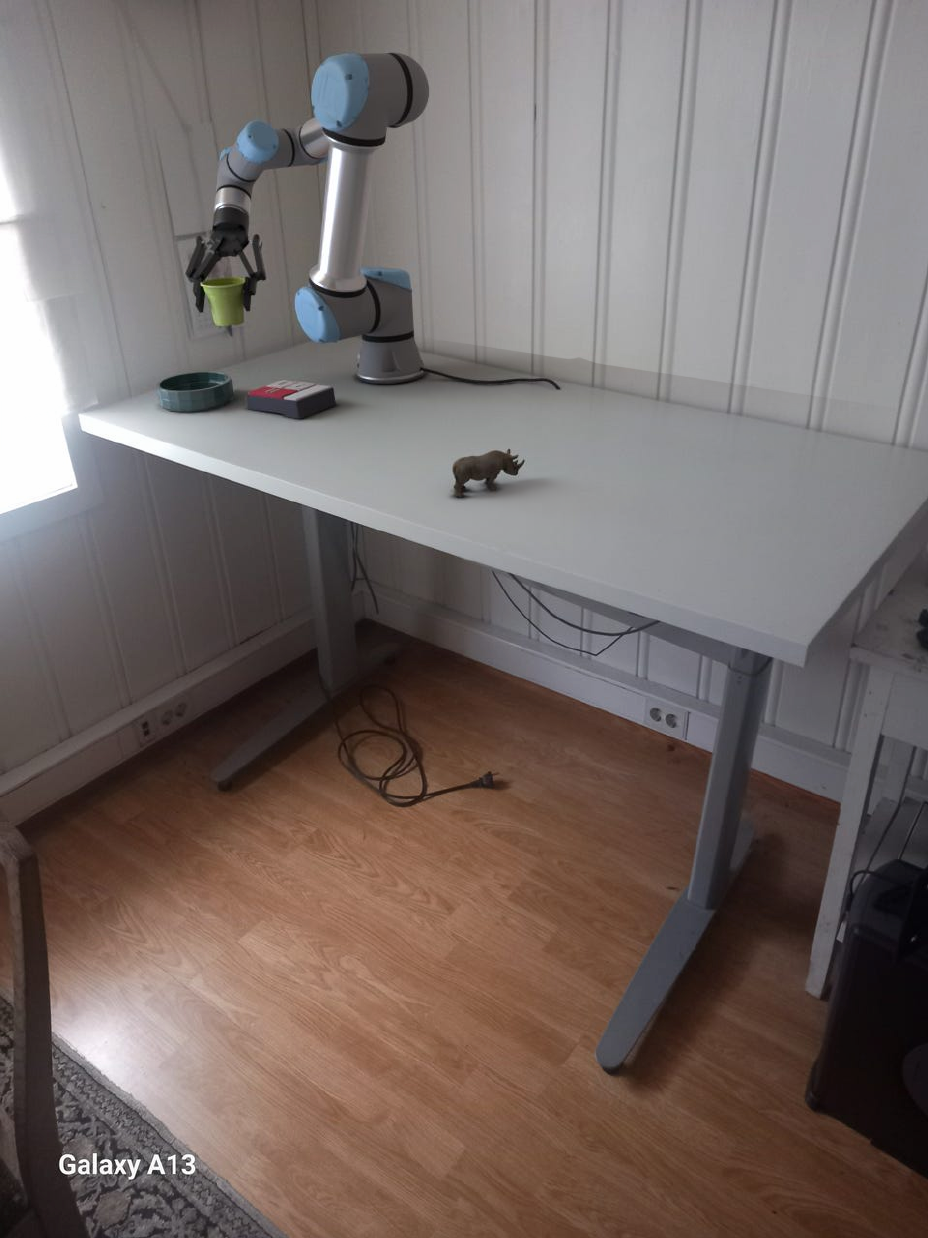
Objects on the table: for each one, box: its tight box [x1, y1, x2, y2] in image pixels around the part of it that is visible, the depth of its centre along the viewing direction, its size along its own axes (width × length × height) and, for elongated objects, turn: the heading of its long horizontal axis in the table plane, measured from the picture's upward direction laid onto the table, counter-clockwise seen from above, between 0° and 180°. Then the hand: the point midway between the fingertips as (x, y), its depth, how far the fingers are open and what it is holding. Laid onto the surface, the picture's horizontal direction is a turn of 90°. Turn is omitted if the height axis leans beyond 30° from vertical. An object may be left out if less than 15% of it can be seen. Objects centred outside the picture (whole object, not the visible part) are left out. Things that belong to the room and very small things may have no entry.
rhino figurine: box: [452, 448, 526, 498], centre depth 155 cm, size 4×14×6 cm, turn 119°
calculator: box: [245, 379, 337, 420], centre depth 198 cm, size 11×4×15 cm
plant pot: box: [201, 276, 245, 328], centre depth 204 cm, size 9×9×9 cm
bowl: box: [155, 370, 235, 413], centre depth 204 cm, size 15×15×4 cm
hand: (222, 308), depth 201 cm, fingers closed on plant pot, 9 cm apart
